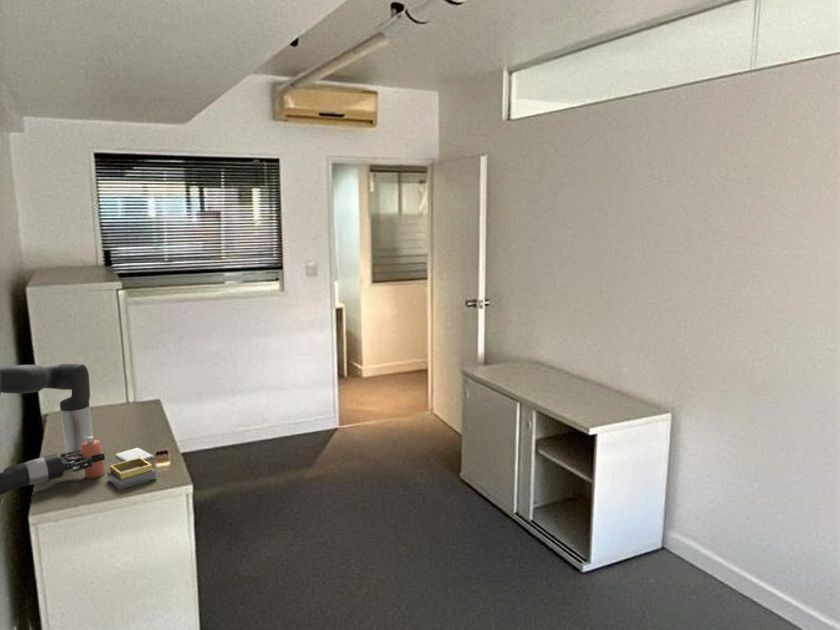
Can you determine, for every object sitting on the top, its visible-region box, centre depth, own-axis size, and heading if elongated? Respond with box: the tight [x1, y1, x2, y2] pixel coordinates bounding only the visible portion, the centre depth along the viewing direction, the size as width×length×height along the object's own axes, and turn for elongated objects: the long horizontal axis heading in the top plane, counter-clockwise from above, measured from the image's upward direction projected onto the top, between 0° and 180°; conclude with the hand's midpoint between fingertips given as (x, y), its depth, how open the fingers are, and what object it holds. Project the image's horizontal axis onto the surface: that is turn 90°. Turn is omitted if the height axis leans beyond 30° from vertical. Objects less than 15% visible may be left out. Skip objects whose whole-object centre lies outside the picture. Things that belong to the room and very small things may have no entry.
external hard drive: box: [115, 447, 155, 462], centre depth 217 cm, size 2×8×12 cm
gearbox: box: [107, 457, 157, 491], centre depth 197 cm, size 11×11×5 cm
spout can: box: [81, 435, 105, 479], centre depth 201 cm, size 6×6×13 cm
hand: (100, 453), depth 203 cm, fingers closed on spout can, 5 cm apart
